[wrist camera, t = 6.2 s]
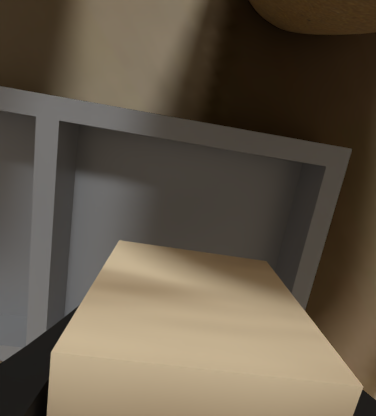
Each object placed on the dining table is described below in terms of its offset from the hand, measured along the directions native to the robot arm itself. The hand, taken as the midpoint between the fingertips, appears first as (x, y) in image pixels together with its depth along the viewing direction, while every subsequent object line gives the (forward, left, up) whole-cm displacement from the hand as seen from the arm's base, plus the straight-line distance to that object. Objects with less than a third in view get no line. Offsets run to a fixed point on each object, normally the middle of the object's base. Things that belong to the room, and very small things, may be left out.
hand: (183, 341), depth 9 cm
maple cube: (0, 0, -1) cm, 1 cm away
